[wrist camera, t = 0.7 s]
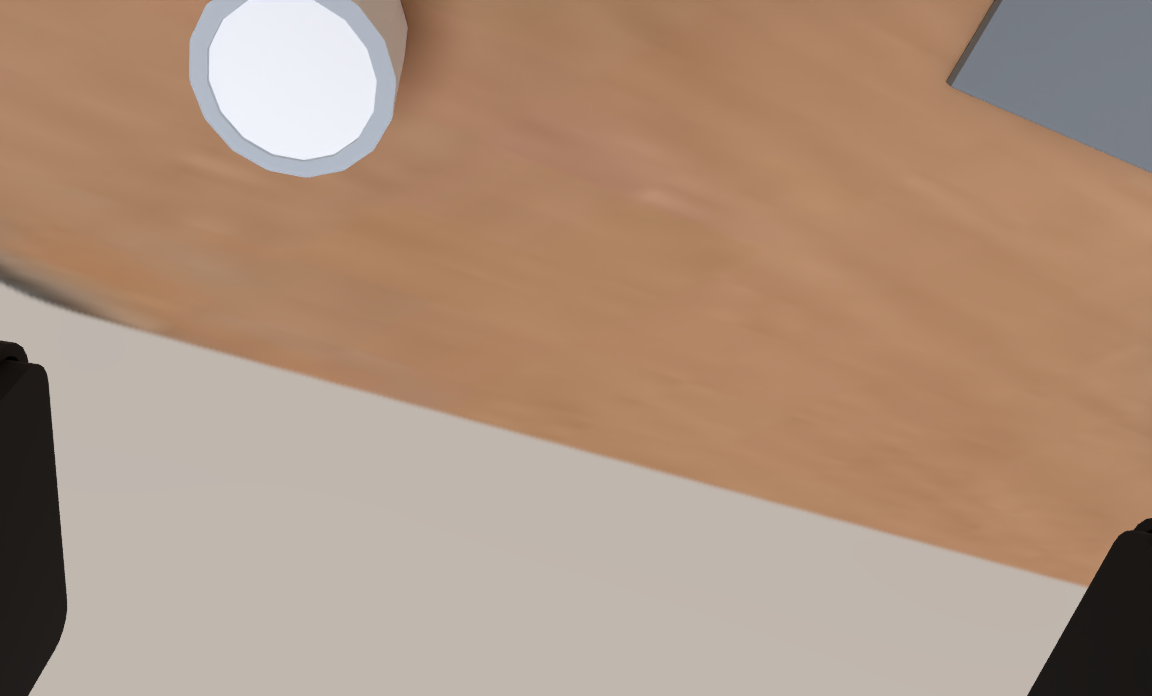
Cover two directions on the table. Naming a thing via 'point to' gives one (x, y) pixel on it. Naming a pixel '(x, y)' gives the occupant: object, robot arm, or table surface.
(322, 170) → the white cylinder
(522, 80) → the table surface
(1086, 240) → the table surface
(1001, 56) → the mat
